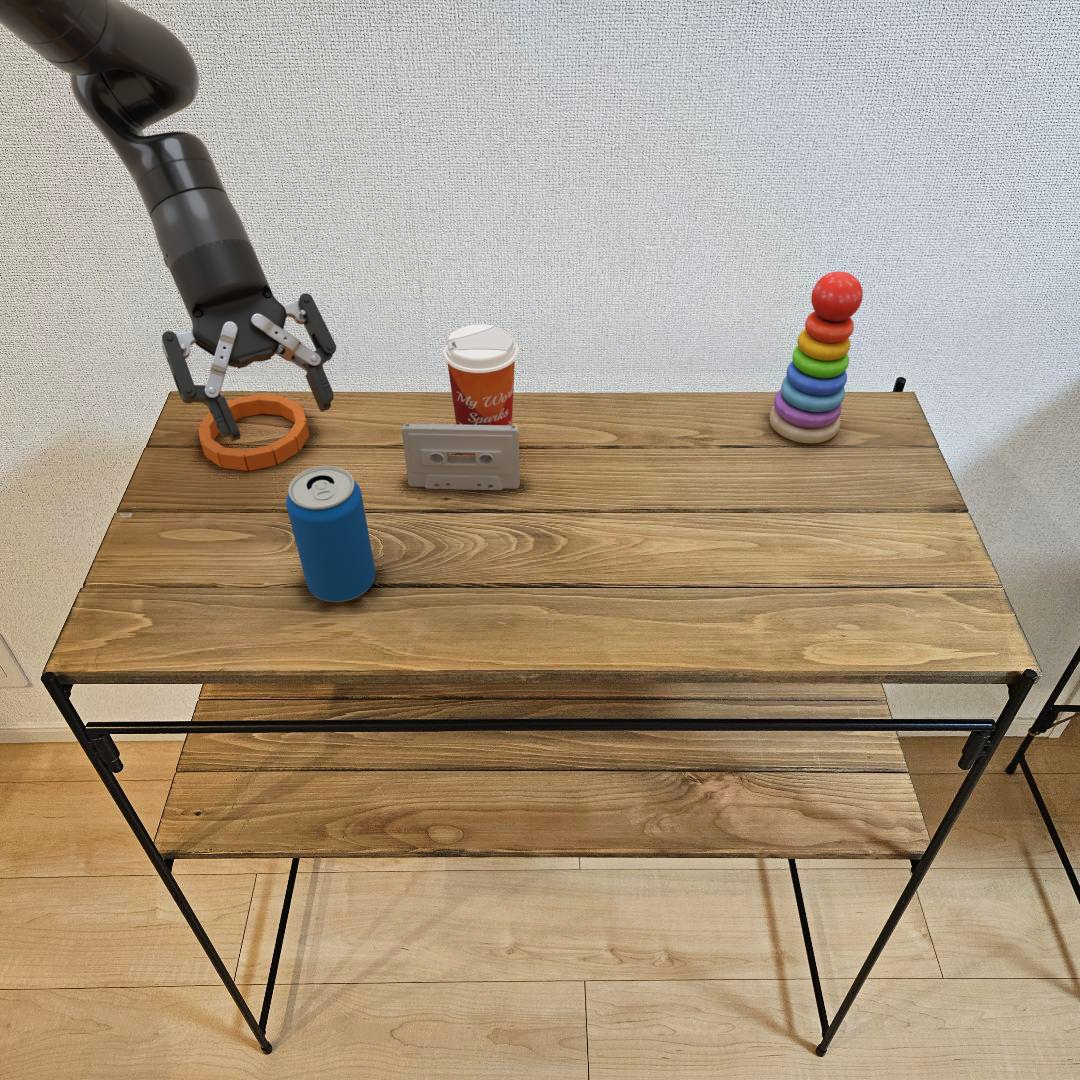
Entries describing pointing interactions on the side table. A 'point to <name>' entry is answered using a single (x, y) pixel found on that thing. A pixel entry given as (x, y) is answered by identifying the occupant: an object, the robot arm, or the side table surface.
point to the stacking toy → (819, 364)
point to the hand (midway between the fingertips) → (282, 423)
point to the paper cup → (481, 374)
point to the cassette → (462, 456)
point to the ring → (259, 455)
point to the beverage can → (331, 533)
